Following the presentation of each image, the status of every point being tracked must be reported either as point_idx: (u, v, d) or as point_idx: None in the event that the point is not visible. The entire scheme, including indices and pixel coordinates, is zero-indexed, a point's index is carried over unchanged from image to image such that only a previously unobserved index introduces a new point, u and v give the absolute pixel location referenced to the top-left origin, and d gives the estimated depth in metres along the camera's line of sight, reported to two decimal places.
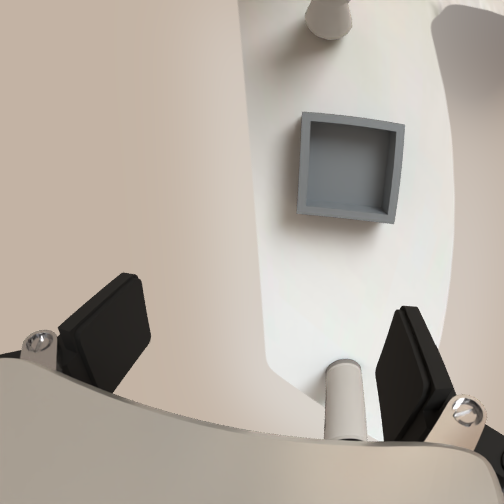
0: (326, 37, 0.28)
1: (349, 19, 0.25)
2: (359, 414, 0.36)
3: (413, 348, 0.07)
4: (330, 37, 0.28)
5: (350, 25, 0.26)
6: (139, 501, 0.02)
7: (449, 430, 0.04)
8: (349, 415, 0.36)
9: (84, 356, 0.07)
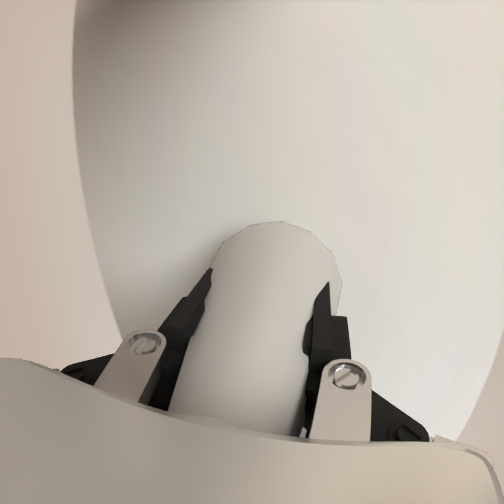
0: None
1: None
2: None
3: None
4: None
5: None
6: (139, 501, 0.02)
7: (335, 398, 0.06)
8: None
9: None
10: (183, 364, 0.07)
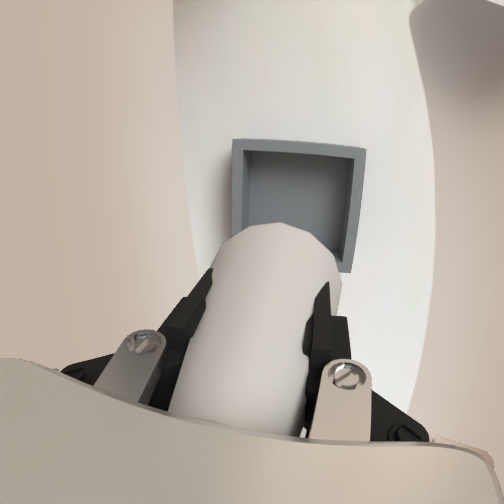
0: None
1: None
2: None
3: None
4: None
5: None
6: (139, 501, 0.02)
7: (335, 398, 0.06)
8: None
9: None
10: (182, 366, 0.07)
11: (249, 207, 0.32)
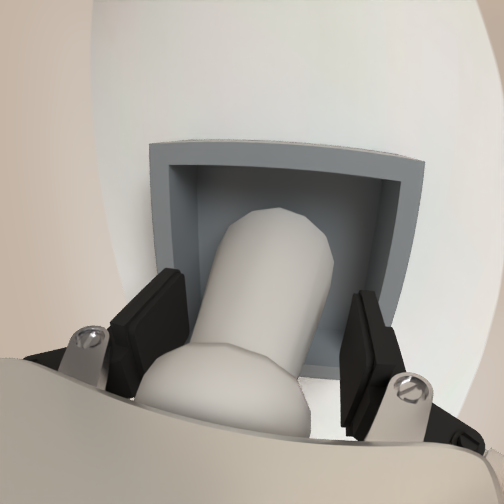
0: None
1: None
2: None
3: (363, 327, 0.08)
4: None
5: None
6: (139, 501, 0.02)
7: (396, 410, 0.05)
8: None
9: (136, 351, 0.08)
10: (199, 316, 0.09)
11: (199, 262, 0.18)
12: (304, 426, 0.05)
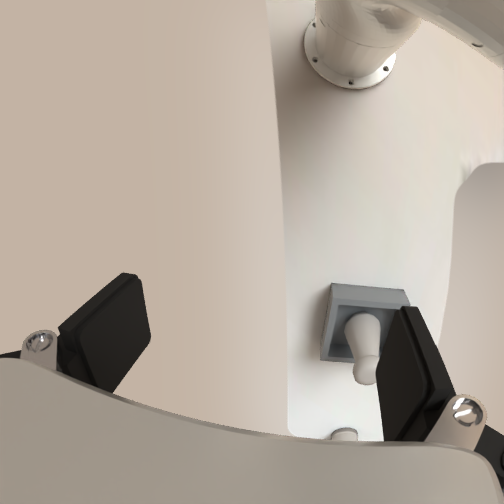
0: None
1: None
2: None
3: (413, 348, 0.07)
4: None
5: None
6: (139, 501, 0.02)
7: (449, 430, 0.04)
8: None
9: (84, 356, 0.07)
10: (359, 349, 0.37)
11: None
12: None
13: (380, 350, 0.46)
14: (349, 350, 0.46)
